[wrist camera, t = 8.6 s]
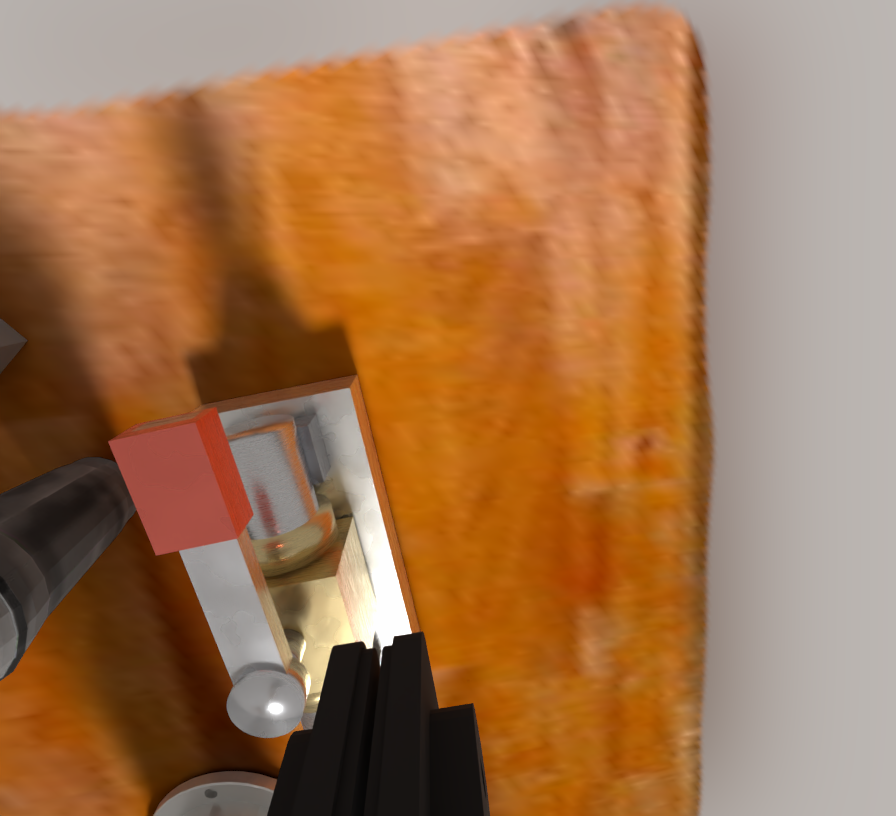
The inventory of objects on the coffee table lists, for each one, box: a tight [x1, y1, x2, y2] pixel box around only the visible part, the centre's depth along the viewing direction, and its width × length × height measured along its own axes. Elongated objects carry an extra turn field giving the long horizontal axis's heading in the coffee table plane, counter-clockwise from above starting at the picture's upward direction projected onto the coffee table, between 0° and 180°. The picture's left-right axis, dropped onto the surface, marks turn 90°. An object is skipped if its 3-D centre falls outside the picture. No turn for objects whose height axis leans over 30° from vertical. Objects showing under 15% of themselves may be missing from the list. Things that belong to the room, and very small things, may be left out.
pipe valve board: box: [192, 375, 421, 730], centre depth 29 cm, size 20×9×11 cm, turn 11°
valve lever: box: [108, 407, 311, 738], centre depth 21 cm, size 14×3×2 cm, turn 12°
